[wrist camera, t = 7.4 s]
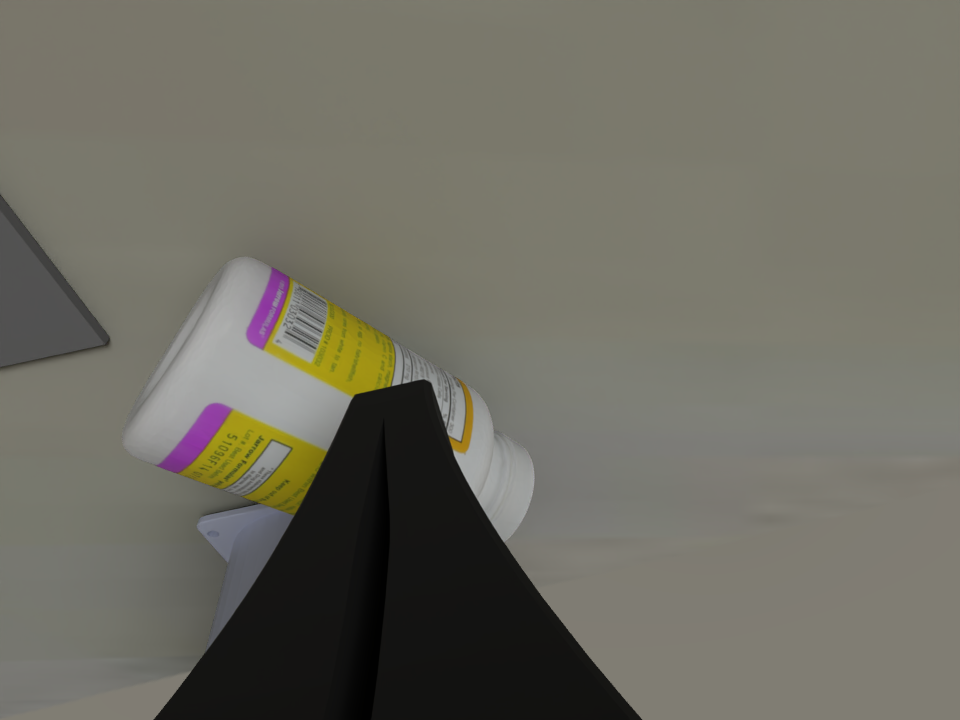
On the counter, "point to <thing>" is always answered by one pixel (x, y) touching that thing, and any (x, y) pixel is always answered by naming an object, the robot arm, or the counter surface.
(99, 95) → the counter surface
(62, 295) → the mat
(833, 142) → the counter surface
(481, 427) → the supplement bottle
